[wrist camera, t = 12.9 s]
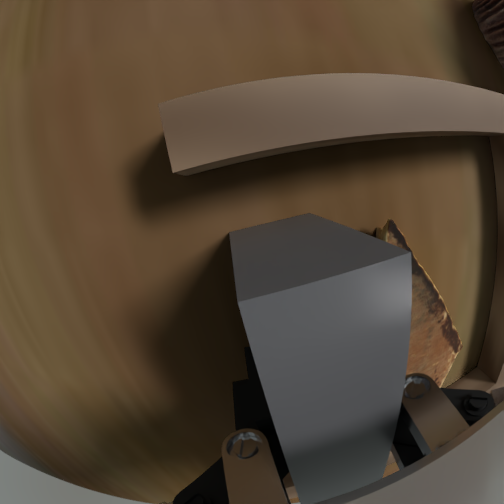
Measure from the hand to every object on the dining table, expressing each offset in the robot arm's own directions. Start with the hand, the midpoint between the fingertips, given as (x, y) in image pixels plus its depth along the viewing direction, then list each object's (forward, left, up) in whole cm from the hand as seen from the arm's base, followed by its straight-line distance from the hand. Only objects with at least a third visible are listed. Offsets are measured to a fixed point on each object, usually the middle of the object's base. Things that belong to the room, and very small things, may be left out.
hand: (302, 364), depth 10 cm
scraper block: (0, 0, -1) cm, 1 cm away
